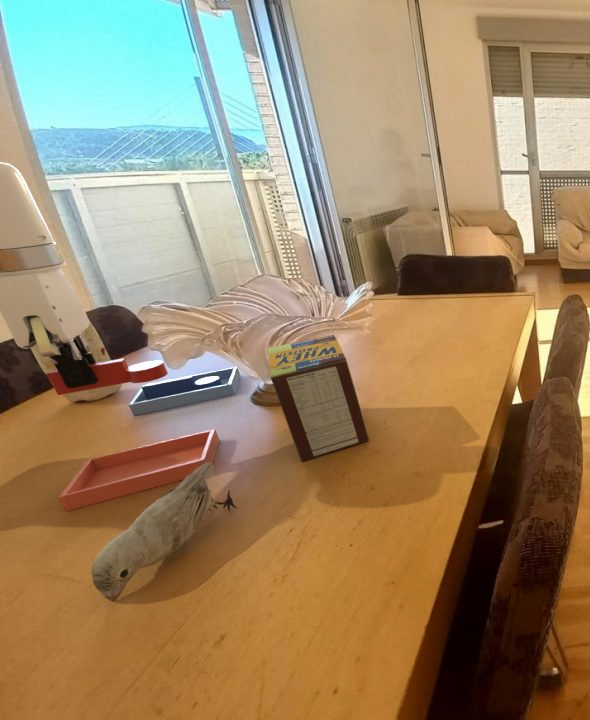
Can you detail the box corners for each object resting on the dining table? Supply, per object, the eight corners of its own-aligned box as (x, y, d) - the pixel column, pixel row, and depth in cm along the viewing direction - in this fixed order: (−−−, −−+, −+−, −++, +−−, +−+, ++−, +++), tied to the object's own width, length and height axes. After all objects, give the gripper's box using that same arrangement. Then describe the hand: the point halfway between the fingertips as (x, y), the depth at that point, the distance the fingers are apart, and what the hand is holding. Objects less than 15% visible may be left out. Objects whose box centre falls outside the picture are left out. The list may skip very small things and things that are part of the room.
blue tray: (133, 415, 93) (128, 405, 92) (148, 394, 102) (143, 384, 101) (234, 394, 101) (230, 384, 100) (240, 376, 110) (237, 366, 109)
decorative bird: (87, 603, 52) (54, 552, 50) (209, 506, 67) (189, 462, 64) (134, 604, 52) (103, 553, 49) (245, 506, 67) (227, 462, 64)
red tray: (66, 511, 67) (57, 497, 66) (94, 471, 76) (87, 459, 75) (209, 472, 75) (204, 459, 74) (220, 440, 84) (215, 428, 83)
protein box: (356, 407, 93) (334, 333, 87) (370, 441, 82) (347, 358, 76) (293, 425, 88) (266, 347, 82) (299, 463, 76) (268, 376, 70)
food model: (127, 385, 107) (85, 299, 99) (124, 395, 102) (79, 306, 94) (64, 399, 101) (14, 309, 93) (58, 410, 96) (5, 316, 89)
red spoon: (53, 399, 68) (41, 377, 67) (65, 388, 72) (54, 367, 70) (164, 378, 74) (155, 358, 73) (170, 369, 78) (162, 349, 76)
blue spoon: (146, 405, 96) (139, 389, 95) (152, 397, 100) (144, 382, 99) (221, 389, 102) (215, 375, 101) (223, 382, 106) (218, 368, 104)
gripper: (8, 255, 68) (70, 371, 76) (-56, 274, 56) (26, 410, 63) (80, 249, 72) (133, 360, 79) (35, 265, 60) (103, 395, 67)
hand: (85, 382), depth 71 cm, fingers closed on red spoon, 1 cm apart
